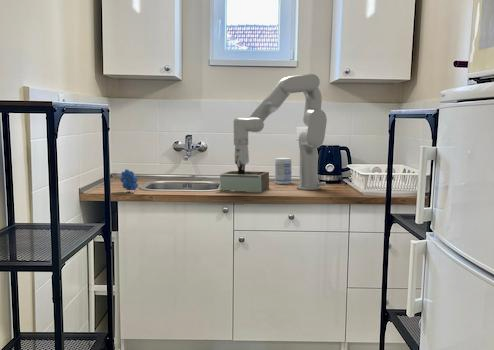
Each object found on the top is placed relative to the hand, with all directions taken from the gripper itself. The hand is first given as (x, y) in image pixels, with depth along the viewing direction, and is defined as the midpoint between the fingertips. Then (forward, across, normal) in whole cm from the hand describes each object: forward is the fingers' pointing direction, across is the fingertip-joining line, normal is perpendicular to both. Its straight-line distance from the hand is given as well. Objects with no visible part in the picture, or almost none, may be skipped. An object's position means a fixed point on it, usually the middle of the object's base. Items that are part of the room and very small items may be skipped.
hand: (241, 177), depth 245 cm
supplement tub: (+8, +36, -14) cm, 40 cm away
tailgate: (+7, -2, 0) cm, 7 cm away
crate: (+7, +6, 0) cm, 10 cm away
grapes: (+7, -20, +56) cm, 59 cm away
